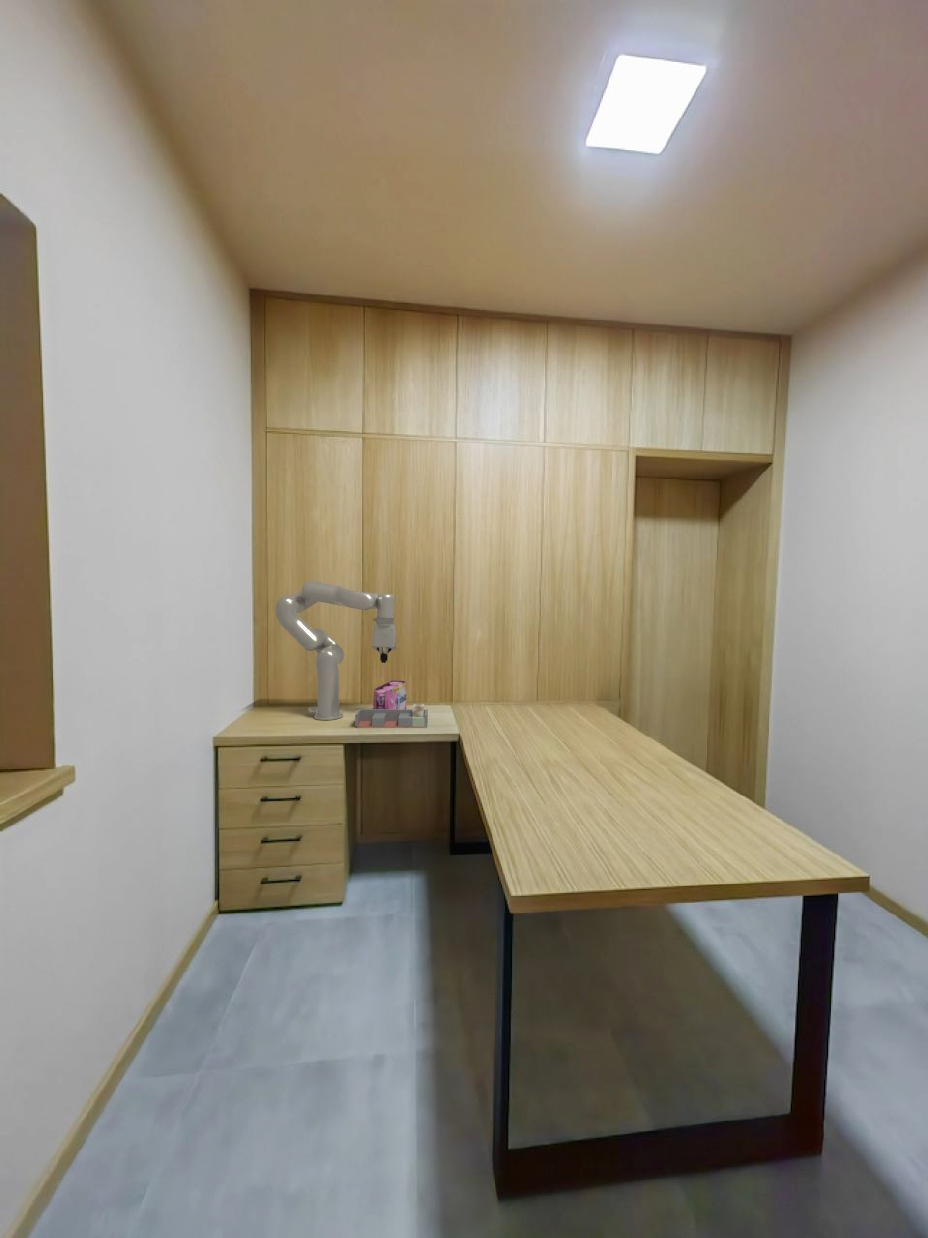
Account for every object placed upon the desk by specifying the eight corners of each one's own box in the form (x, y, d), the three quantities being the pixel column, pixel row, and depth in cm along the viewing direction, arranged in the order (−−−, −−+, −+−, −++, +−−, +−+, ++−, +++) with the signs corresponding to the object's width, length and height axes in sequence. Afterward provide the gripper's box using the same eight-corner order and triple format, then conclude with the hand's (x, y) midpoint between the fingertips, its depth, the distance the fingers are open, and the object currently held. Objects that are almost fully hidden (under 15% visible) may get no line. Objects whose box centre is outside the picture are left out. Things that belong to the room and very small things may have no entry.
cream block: (412, 717, 208) (412, 706, 207) (413, 714, 212) (413, 704, 212) (423, 717, 208) (423, 706, 207) (424, 714, 212) (424, 704, 212)
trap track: (355, 727, 205) (355, 714, 204) (359, 721, 214) (359, 709, 213) (426, 727, 206) (427, 714, 206) (427, 721, 215) (427, 709, 215)
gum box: (387, 721, 215) (387, 691, 214) (371, 720, 217) (371, 689, 216) (406, 708, 238) (407, 680, 237) (391, 707, 240) (391, 680, 239)
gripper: (366, 621, 214) (365, 663, 215) (400, 623, 214) (399, 664, 215) (370, 620, 221) (368, 660, 222) (403, 621, 221) (401, 662, 222)
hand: (383, 662), depth 219 cm, fingers closed
